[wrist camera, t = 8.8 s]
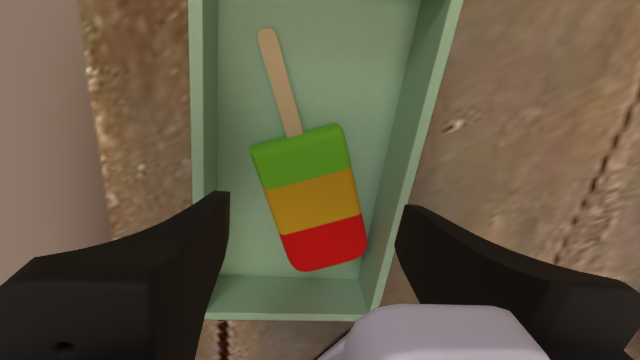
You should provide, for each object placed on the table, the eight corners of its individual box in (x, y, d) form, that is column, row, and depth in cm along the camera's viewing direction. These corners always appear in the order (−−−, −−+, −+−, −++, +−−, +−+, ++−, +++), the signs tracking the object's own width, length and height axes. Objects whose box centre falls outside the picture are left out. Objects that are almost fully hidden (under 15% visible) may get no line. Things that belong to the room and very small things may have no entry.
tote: (361, 280, 25) (375, 321, 21) (208, 275, 23) (194, 319, 19) (431, -11, 17) (471, -26, 13) (208, -53, 15) (185, -83, 12)
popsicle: (292, 261, 23) (293, 279, 21) (215, 43, 17) (207, 43, 15) (365, 241, 23) (372, 258, 21) (315, 16, 17) (320, 12, 15)
